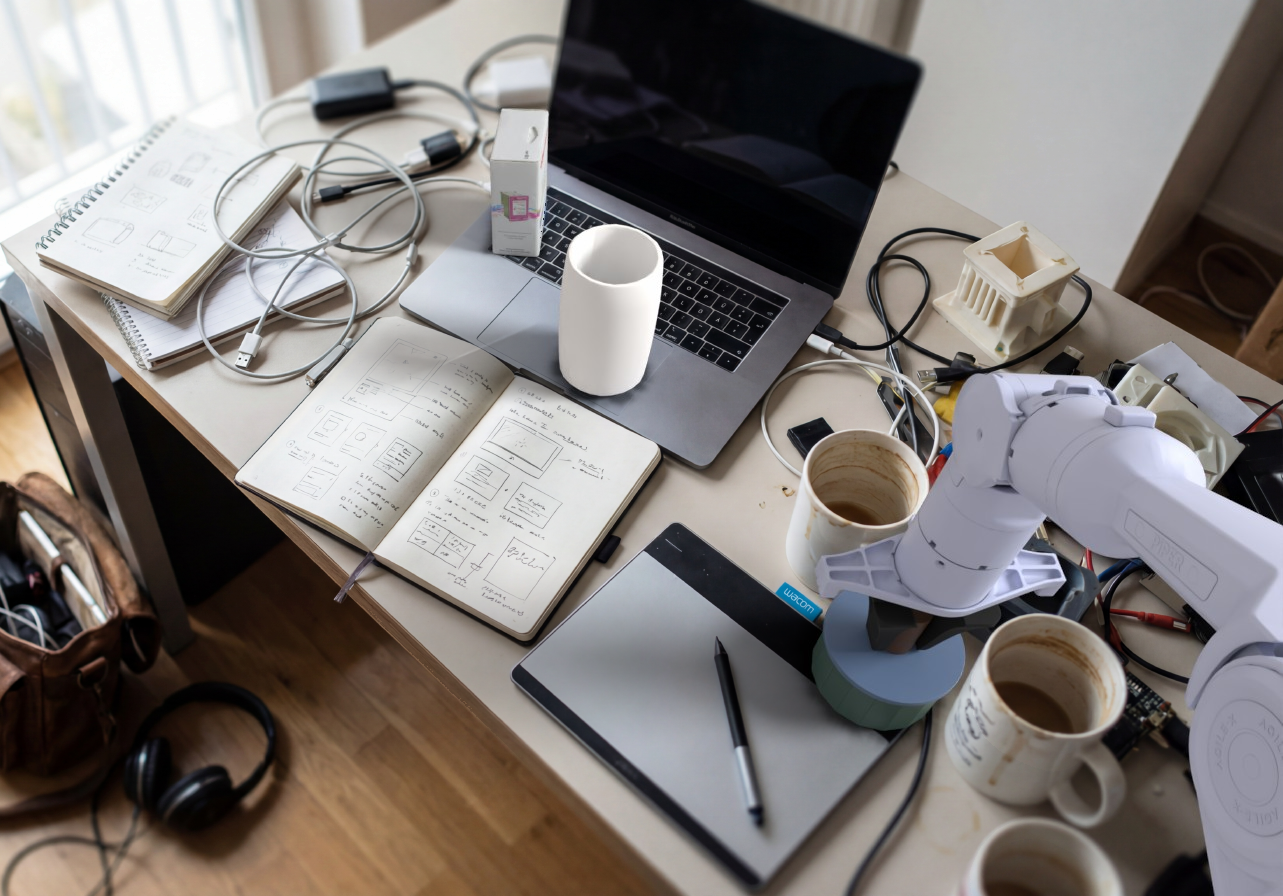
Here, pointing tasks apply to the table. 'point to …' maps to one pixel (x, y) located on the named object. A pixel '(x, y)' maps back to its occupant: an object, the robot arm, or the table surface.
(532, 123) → the ink box
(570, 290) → the cup
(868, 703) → the container
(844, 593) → the lid
